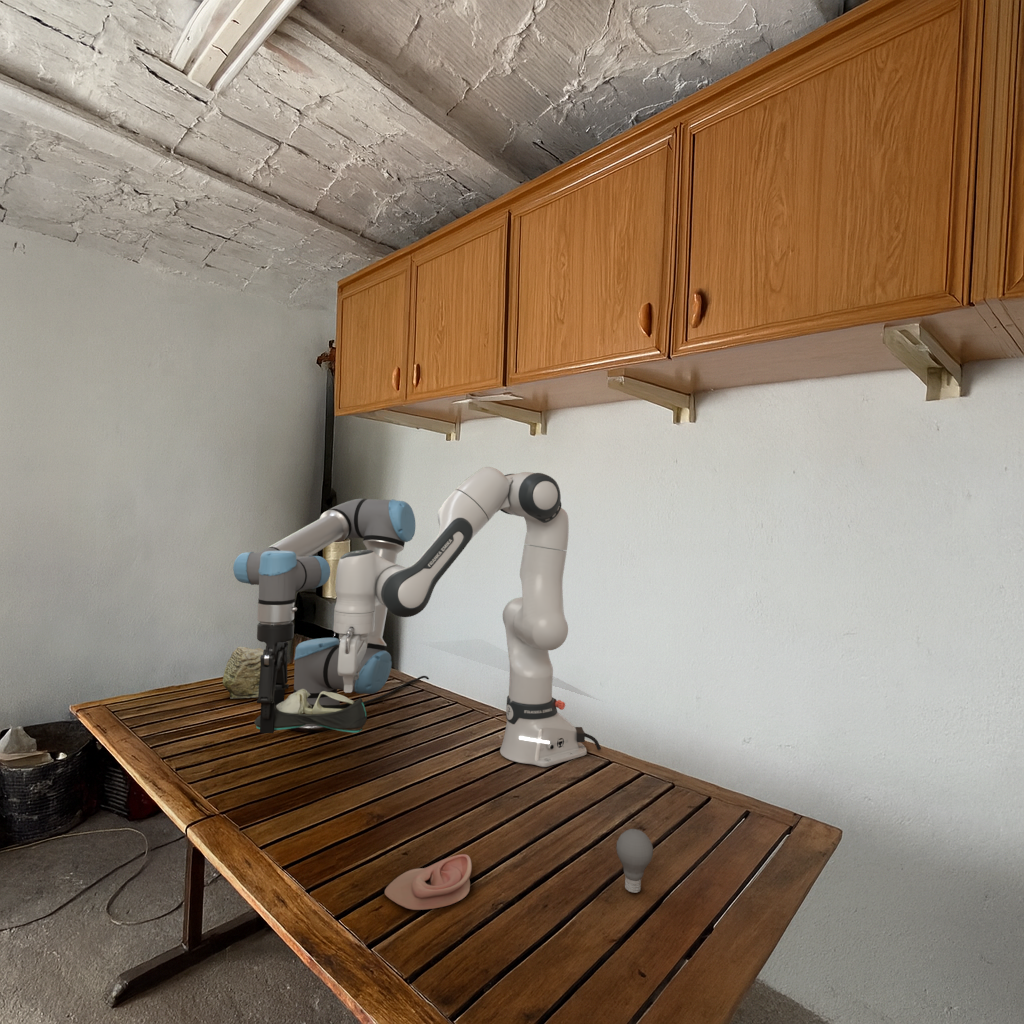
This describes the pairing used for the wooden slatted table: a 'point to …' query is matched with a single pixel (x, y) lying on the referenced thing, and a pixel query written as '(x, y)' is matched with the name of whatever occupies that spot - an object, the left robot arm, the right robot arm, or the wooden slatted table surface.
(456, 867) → the anatomical model
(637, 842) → the light bulb
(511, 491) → the right robot arm
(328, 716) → the ballet flat
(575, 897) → the wooden slatted table surface
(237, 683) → the fossil
